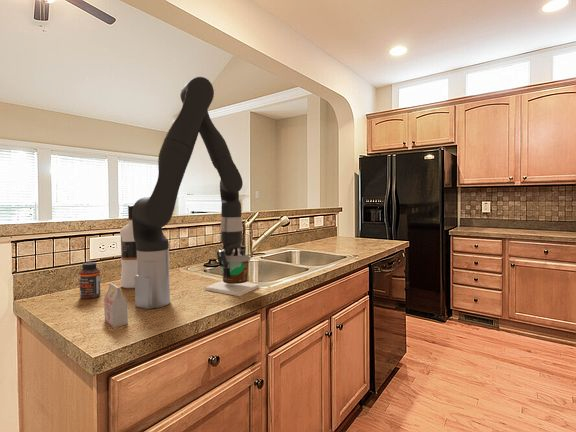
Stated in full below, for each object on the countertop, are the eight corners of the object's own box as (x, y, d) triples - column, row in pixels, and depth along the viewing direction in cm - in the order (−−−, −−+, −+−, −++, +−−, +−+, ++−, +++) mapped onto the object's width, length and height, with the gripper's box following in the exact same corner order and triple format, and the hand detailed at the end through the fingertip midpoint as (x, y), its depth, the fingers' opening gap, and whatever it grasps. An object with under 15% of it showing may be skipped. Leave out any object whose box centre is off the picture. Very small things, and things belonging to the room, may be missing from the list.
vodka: (147, 287, 124) (144, 205, 122) (119, 290, 121) (115, 205, 119) (148, 281, 133) (145, 204, 131) (122, 283, 130) (119, 205, 127)
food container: (212, 282, 122) (211, 254, 121) (222, 278, 127) (222, 252, 127) (240, 286, 116) (240, 257, 115) (250, 282, 121) (250, 254, 121)
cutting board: (239, 296, 114) (239, 292, 113) (205, 290, 121) (205, 286, 121) (259, 287, 124) (259, 284, 124) (226, 282, 131) (226, 279, 131)
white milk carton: (119, 317, 95) (118, 281, 94) (127, 323, 90) (126, 286, 89) (104, 320, 92) (103, 284, 92) (113, 327, 87) (111, 289, 87)
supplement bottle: (77, 300, 110) (75, 265, 109) (83, 294, 115) (81, 261, 114) (97, 298, 111) (96, 264, 110) (102, 293, 117) (101, 260, 116)
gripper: (227, 232, 113) (227, 282, 114) (251, 228, 125) (252, 273, 127) (209, 231, 116) (210, 279, 118) (235, 227, 129) (235, 271, 130)
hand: (232, 276), depth 122 cm, fingers closed on food container, 5 cm apart
